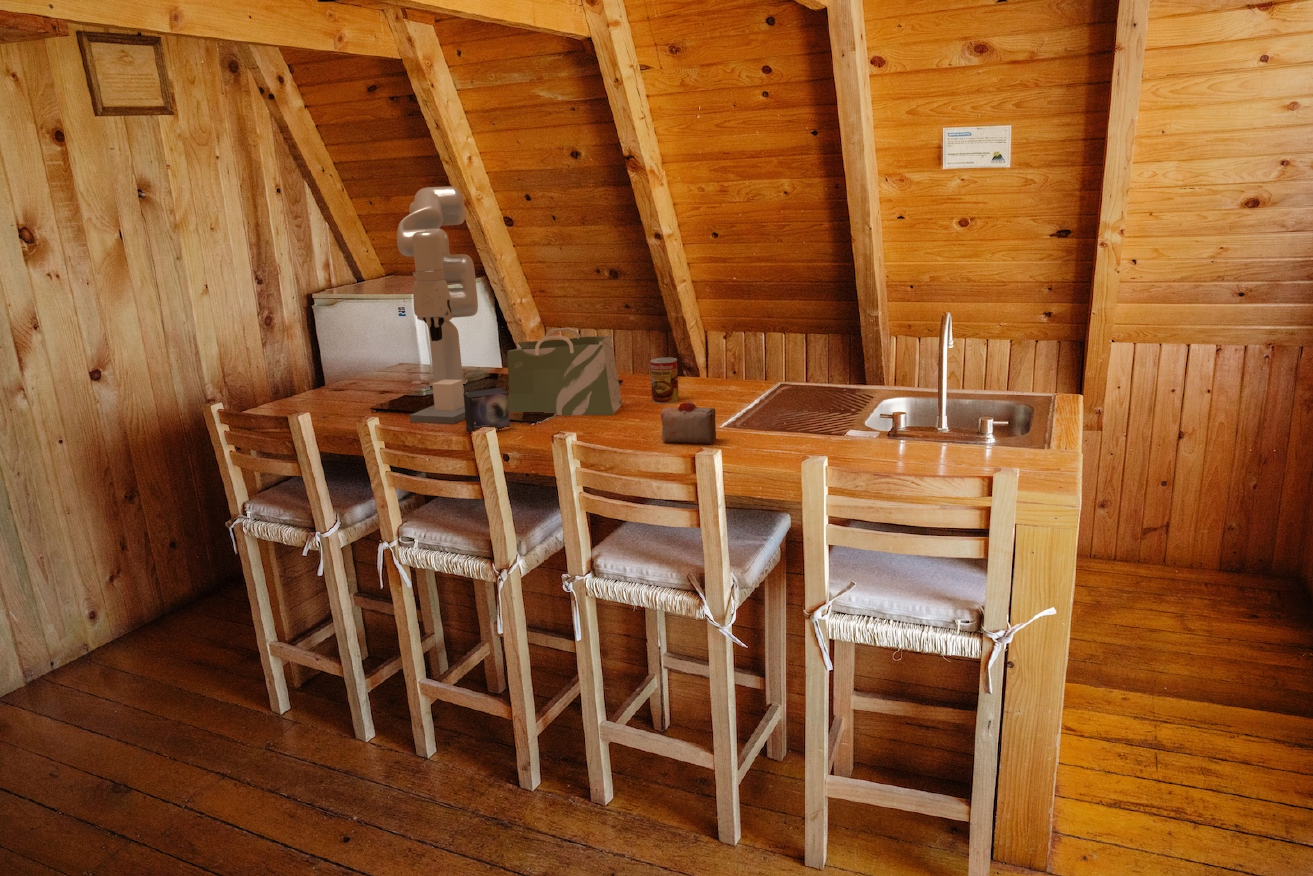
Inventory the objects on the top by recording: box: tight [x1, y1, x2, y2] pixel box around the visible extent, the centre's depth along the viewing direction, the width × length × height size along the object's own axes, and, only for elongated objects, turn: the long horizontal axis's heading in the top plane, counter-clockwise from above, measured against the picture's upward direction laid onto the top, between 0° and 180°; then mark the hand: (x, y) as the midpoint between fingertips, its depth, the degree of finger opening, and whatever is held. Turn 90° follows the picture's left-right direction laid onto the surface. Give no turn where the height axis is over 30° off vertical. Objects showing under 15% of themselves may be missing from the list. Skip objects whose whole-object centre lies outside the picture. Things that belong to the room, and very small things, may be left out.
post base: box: [409, 404, 466, 425], centre depth 272 cm, size 20×14×8 cm
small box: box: [463, 387, 511, 434], centre depth 253 cm, size 11×6×10 cm, turn 117°
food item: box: [659, 400, 717, 445], centre depth 233 cm, size 14×8×10 cm, turn 75°
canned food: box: [649, 357, 679, 404], centre depth 278 cm, size 8×8×12 cm
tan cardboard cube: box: [432, 379, 465, 411], centre depth 272 cm, size 6×6×8 cm
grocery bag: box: [506, 327, 623, 417], centre depth 270 cm, size 32×14×23 cm, turn 79°
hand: (436, 340), depth 273 cm, fingers closed
